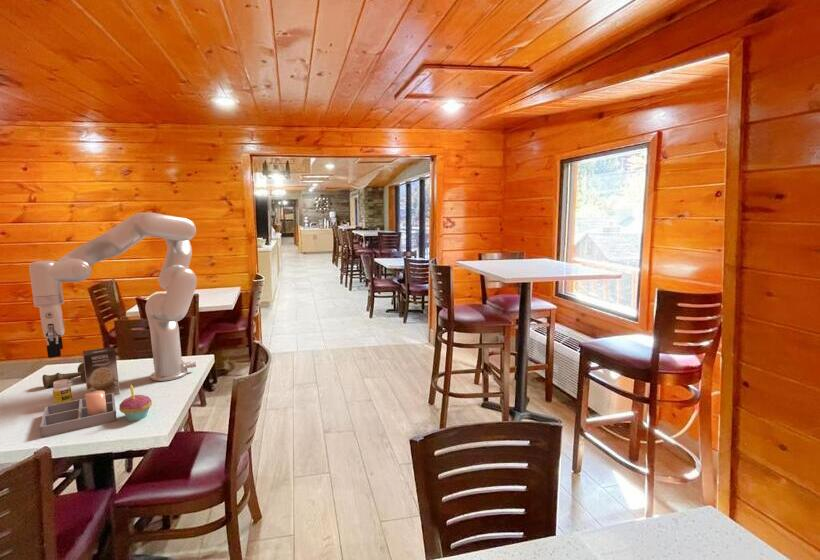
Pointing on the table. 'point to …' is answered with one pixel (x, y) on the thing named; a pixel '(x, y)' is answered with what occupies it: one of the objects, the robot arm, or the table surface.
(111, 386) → the coffee box
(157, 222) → the robot arm
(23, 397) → the table surface
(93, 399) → the peach square block
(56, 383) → the supplement bottle
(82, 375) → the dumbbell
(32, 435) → the table surface
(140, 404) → the cupcake
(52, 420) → the carrier
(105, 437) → the table surface
